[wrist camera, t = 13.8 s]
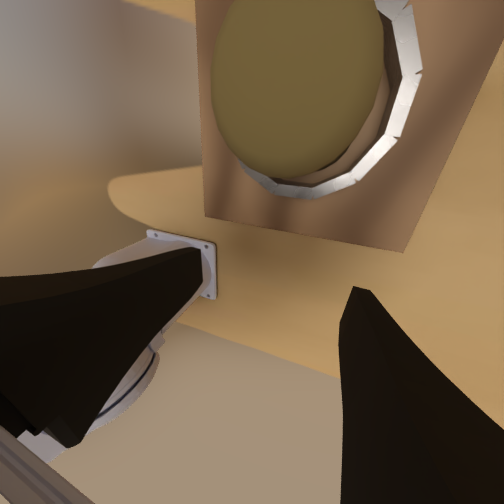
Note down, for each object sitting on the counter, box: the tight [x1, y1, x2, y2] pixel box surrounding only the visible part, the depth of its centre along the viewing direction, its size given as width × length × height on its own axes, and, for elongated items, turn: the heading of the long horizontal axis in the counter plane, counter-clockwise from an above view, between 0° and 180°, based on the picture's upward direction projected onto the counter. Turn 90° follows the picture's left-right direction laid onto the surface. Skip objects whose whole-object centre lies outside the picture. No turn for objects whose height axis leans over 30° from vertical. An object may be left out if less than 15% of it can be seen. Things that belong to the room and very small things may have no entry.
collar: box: [238, 0, 423, 200], centre depth 13 cm, size 11×11×2 cm
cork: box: [210, 0, 384, 179], centre depth 10 cm, size 6×6×11 cm
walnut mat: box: [195, 0, 504, 253], centre depth 14 cm, size 18×18×1 cm
